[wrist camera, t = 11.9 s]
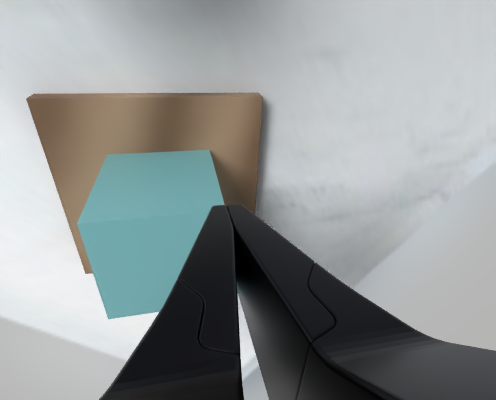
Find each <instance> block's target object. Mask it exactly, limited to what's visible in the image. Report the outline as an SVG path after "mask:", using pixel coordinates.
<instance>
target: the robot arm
mask: <svg viewBox="0 0 496 400" xmlns="http://www.w3.org/2000/svg"><path fill="white" fill-rule="evenodd" d="M237 291H238V294H239V298H240V301H241V305H242V308H243V312H244V315H245V318H246V322H247V325H248V329H249V332H250V336H251V339H252V342H253V346H254V349H255V353H256V356H257V360H258V363H259V366H260V370H261V373H262V377H263V380H264V383H265V387H266V390H267V394H268V397H269V400H496V351H493V350H488V349H481V348H476V347H471V346H464V345H459V344H453V343H449V342H444V341H441V340H438V339H434V338H432V337H429V336H427V335H425V334H423V333H421V332H419V331H417V330H415V329H413V328H412V327H410V326H409V325H407V324H405V323H404V322H402V321H401V320H399V319H398V318H396V317H394V316H393V315H391V314H390V313H388V312H387V311H385V310H384V309H382V308H380V307H379V306H377V305H376V304H374V303H373V302H371V301H369V300H368V299H366V298H365V297H363V296H362V295H360V294H359V293H357V292H356V291H354V290H353V289H351V288H350V287H348V286H347V285H345V284H344V283H342V282H341V281H340V280H338V279H337V278H336V277H334V276H333V275H332V274H330V273H329V272H328V271H326V270H325V269H324V268H322V267H321V266H320V265H319V264H317V263H314V261H313V260H312V259H311V258H309V257H308V256H307V255H306V254H304V253H303V252H302V251H300V250H299V249H298V248H297V247H295V246H294V245H293V244H292V243H290V242H289V241H288V240H286V239H285V238H284V237H283V236H281V235H280V234H279V233H278V232H276V231H275V230H274V229H272V228H271V227H270V226H269V225H267V224H266V223H265V222H263V221H262V220H261V219H260V218H258V217H257V216H256V215H255V214H253V213H252V212H251V211H249V210H248V209H247V208H246V207H244V206H243V205H242V204H229V205H227V206H226V205H215V206H212V208H211V210H210V212H209V214H208V216H207V218H206V220H205V222H204V224H203V226H202V228H201V230H200V232H199V234H198V237H197V239H196V241H195V243H194V245H193V247H192V249H191V251H190V253H189V255H188V257H187V259H186V261H185V263H184V265H183V268H182V270H181V272H180V274H179V276H178V278H177V280H176V282H175V284H174V286H173V288H172V290H171V292H170V294H169V296H168V298H167V299H166V301H165V303H164V305H163V307H162V309H161V310H160V312H159V313H158V315H157V317H156V318H155V320H154V321H153V323H152V325H151V326H150V328H149V329H148V331H147V332H146V334H145V335H144V337H143V338H142V340H141V341H140V343H139V344H138V346H137V347H136V349H135V350H134V352H133V353H132V355H131V356H130V358H129V359H128V361H127V362H126V364H125V365H124V367H123V368H122V370H121V371H120V373H119V374H118V376H117V377H116V378H115V380H114V382H113V383H112V384H111V386H110V387H109V388H108V389H107V391H106V392H105V393H104V394H103V396H102V397H101V398H100V399H99V400H244V396H243V387H242V374H241V359H240V337H239V317H238V297H237Z"/></svg>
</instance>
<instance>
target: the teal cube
mask: <svg viewBox="0 0 496 400" xmlns="http://www.w3.org/2000/svg"><path fill="white" fill-rule="evenodd" d="M215 205H224V201H223V197H222V194H221V190H220V186H219V183H218V179H217V175H216V171H215V168H214V164H213V160H212V157H211V153H210V150H195V151H174V152H152V153H131V154H110V155H107V156H106V158H105V160H104V163H103V165H102V167H101V170H100V172H99V174H98V176H97V179H96V181H95V183H94V186H93V188H92V190H91V193H90V195H89V197H88V199H87V202H86V204H85V206H84V209H83V211H82V213H81V215H80V218H79V220H78V222H77V225H78V228H79V231H80V234H81V237H82V240H83V243H84V247H85V250H86V253H87V256H88V259H89V262H90V265H91V268H92V271H93V274H94V277H95V280H96V283H97V286H98V289H99V292H100V295H101V298H102V301H103V304H104V307H105V311H106V314H107V317H108V319H113V318H119V317H126V316H133V315H139V314H146V313H153V312H160V310H161V309H162V307H163V305H164V303H165V301H166V299H167V298H168V296H169V294H170V292H171V290H172V288H173V286H174V284H175V282H176V280H177V278H178V276H179V274H180V272H181V270H182V268H183V265H184V263H185V261H186V259H187V257H188V255H189V253H190V251H191V249H192V247H193V245H194V243H195V241H196V239H197V237H198V234H199V232H200V230H201V228H202V226H203V224H204V222H205V220H206V218H207V216H208V214H209V212H210V210H211V208H212V206H215Z"/></svg>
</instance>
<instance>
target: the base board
mask: <svg viewBox="0 0 496 400" xmlns="http://www.w3.org/2000/svg"><path fill="white" fill-rule="evenodd" d="M26 100H27V102H28V105H29V108H30V111H31V114H32V117H33V120H34V123H35V126H36V129H37V132H38V135H39V138H40V141H41V144H42V147H43V150H44V153H45V156H46V158H47V161H48V164H49V167H50V170H51V173H52V176H53V179H54V182H55V185H56V188H57V191H58V194H59V197H60V200H61V203H62V206H63V209H64V211H65V214H66V217H67V220H68V223H69V226H70V229H71V232H72V235H73V238H74V241H75V244H76V247H77V250H78V253H79V256H80V259H81V262H82V265H83V267H84V270H85V273H86V274H89V273H93V271H92V268H91V265H90V262H89V259H88V256H87V253H86V250H85V247H84V243H83V240H82V237H81V234H80V231H79V228H78V225H77V222H78V220H79V218H80V215H81V213H82V211H83V209H84V206H85V204H86V202H87V199H88V197H89V195H90V193H91V190H92V188H93V186H94V183H95V181H96V179H97V176H98V174H99V172H100V170H101V167H102V165H103V163H104V160H105V158H106V156H107V155H110V154H131V153H152V152H174V151H195V150H210V153H211V157H212V160H213V164H214V168H215V171H216V175H217V179H218V183H219V186H220V190H221V194H222V197H223V201H224V205H226V206H227V205H229V204H242V205H243V206H244V207H246V208H247V209H248V210H249V211H251V212H252V213H253V214H255V203H256V188H257V174H258V159H259V144H260V129H261V114H262V100H263V97H262V96H261V95H260V94H259V93H128V94H33V95H31V96H30V97H28V98H27V99H26Z"/></svg>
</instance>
